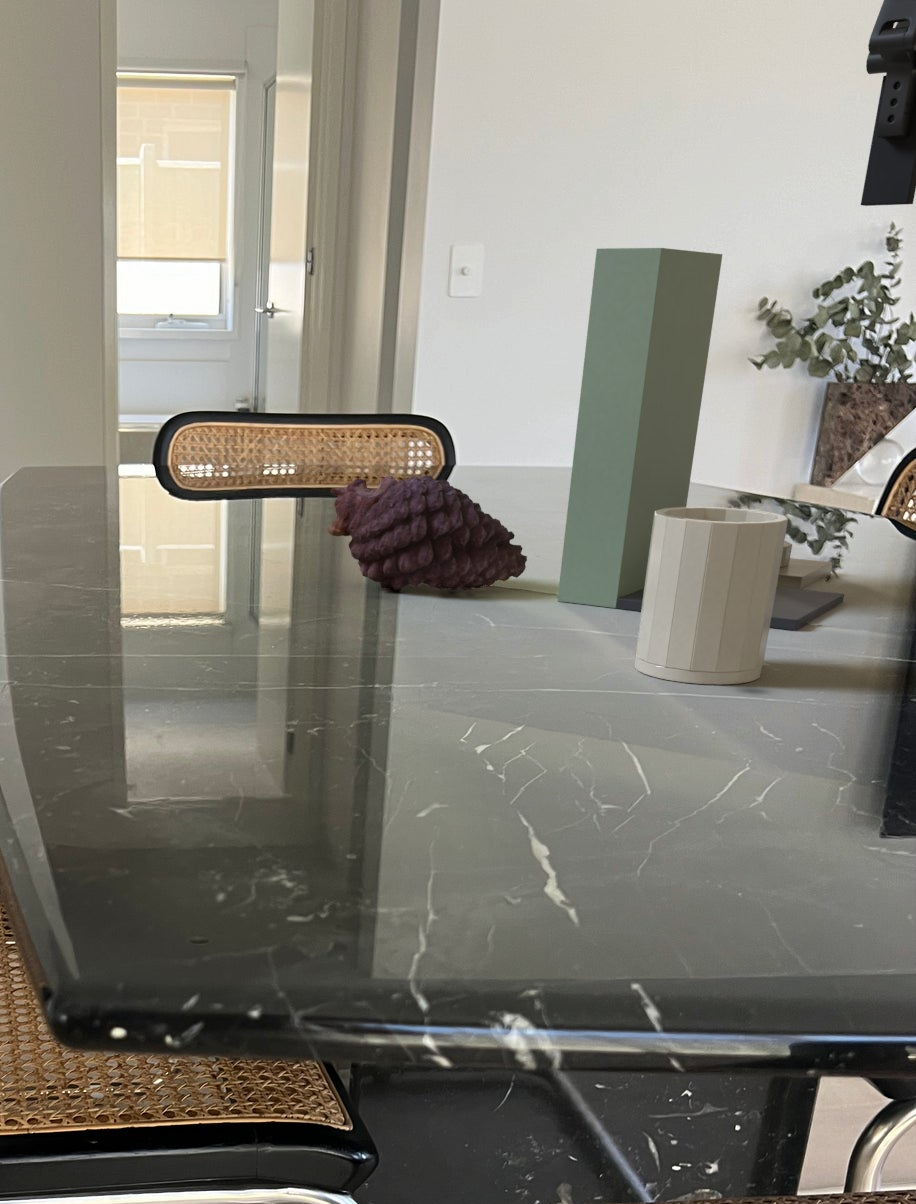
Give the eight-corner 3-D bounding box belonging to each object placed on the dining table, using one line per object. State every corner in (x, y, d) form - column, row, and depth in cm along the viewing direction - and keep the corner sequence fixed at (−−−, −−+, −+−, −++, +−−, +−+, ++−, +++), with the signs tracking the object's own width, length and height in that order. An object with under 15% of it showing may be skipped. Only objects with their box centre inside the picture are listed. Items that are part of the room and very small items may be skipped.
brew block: (830, 575, 133) (836, 541, 132) (800, 590, 125) (806, 555, 124) (699, 562, 139) (704, 529, 138) (663, 575, 132) (667, 541, 131)
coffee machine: (842, 603, 120) (909, 252, 109) (795, 630, 110) (864, 245, 99) (620, 578, 130) (661, 254, 120) (557, 601, 120) (596, 248, 109)
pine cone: (519, 579, 129) (555, 487, 121) (493, 653, 123) (530, 562, 115) (329, 515, 130) (353, 420, 122) (296, 585, 125) (319, 491, 117)
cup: (775, 668, 98) (802, 513, 94) (738, 690, 92) (765, 526, 88) (658, 652, 102) (679, 503, 98) (616, 672, 96) (636, 515, 92)
